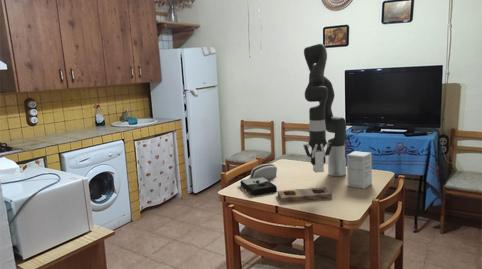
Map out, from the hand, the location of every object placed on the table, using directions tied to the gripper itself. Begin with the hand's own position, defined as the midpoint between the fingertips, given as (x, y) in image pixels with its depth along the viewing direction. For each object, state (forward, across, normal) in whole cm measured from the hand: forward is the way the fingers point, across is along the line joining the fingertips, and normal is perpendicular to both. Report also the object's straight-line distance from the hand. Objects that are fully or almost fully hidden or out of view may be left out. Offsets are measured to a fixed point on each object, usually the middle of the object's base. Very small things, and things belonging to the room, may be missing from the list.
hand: (318, 164), depth 174 cm
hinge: (+16, +22, -34) cm, 44 cm away
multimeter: (+16, +27, -18) cm, 37 cm away
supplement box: (+16, -25, -11) cm, 32 cm away
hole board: (+16, +7, 0) cm, 17 cm away
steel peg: (+3, 0, 0) cm, 3 cm away
